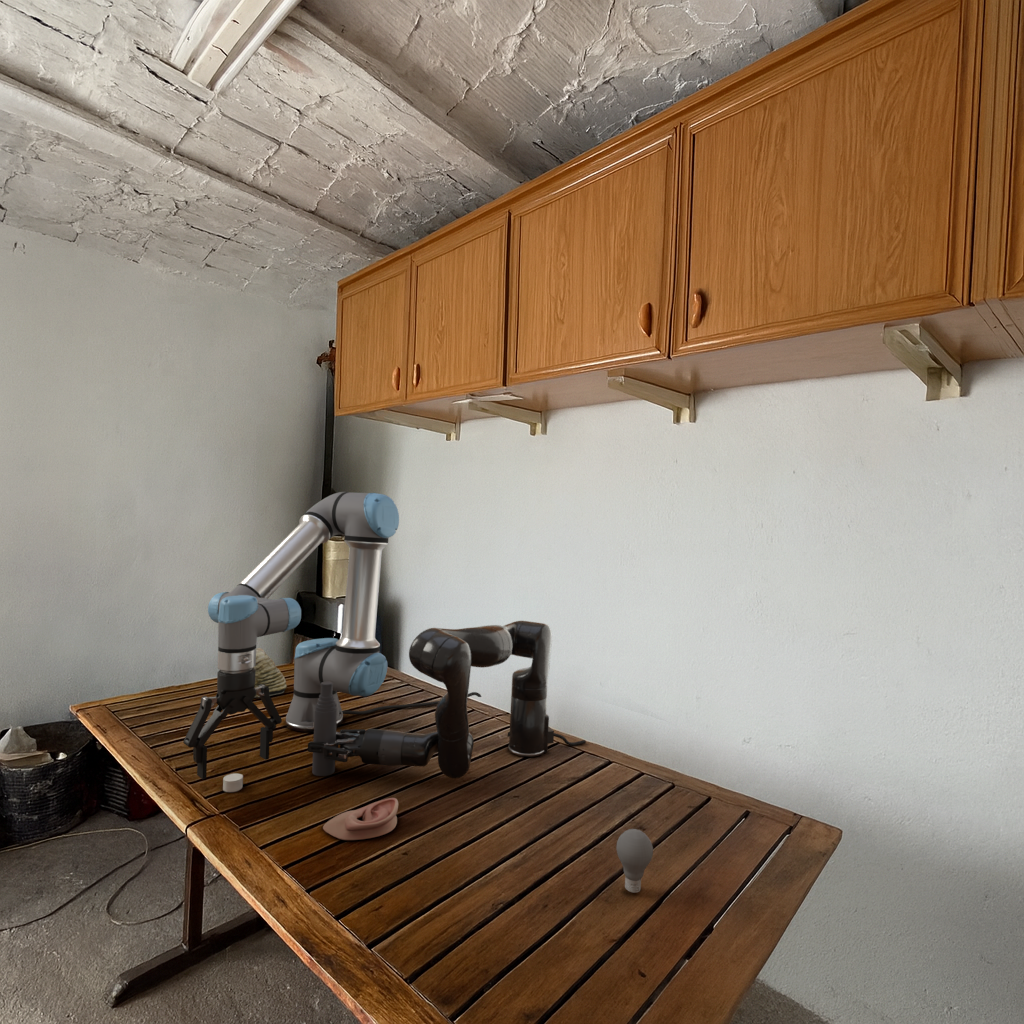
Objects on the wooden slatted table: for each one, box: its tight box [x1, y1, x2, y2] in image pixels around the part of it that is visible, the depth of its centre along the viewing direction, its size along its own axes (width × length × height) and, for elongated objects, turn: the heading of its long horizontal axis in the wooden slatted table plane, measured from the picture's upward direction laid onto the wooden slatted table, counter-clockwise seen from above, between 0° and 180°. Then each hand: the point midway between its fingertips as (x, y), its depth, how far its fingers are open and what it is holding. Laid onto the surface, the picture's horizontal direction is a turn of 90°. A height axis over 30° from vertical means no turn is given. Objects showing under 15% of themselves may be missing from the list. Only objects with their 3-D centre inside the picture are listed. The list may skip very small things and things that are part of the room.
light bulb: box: [615, 828, 654, 894], centre depth 106 cm, size 6×6×10 cm
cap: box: [222, 773, 244, 793], centre depth 136 cm, size 4×4×2 cm
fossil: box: [253, 647, 288, 698], centre depth 198 cm, size 9×18×15 cm, turn 132°
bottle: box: [311, 681, 337, 777], centre depth 146 cm, size 5×5×21 cm
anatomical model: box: [322, 797, 399, 841], centre depth 122 cm, size 13×4×12 cm
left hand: (234, 767), depth 136 cm, fingers open, 13 cm apart
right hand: (313, 741), depth 146 cm, fingers closed on bottle, 5 cm apart
